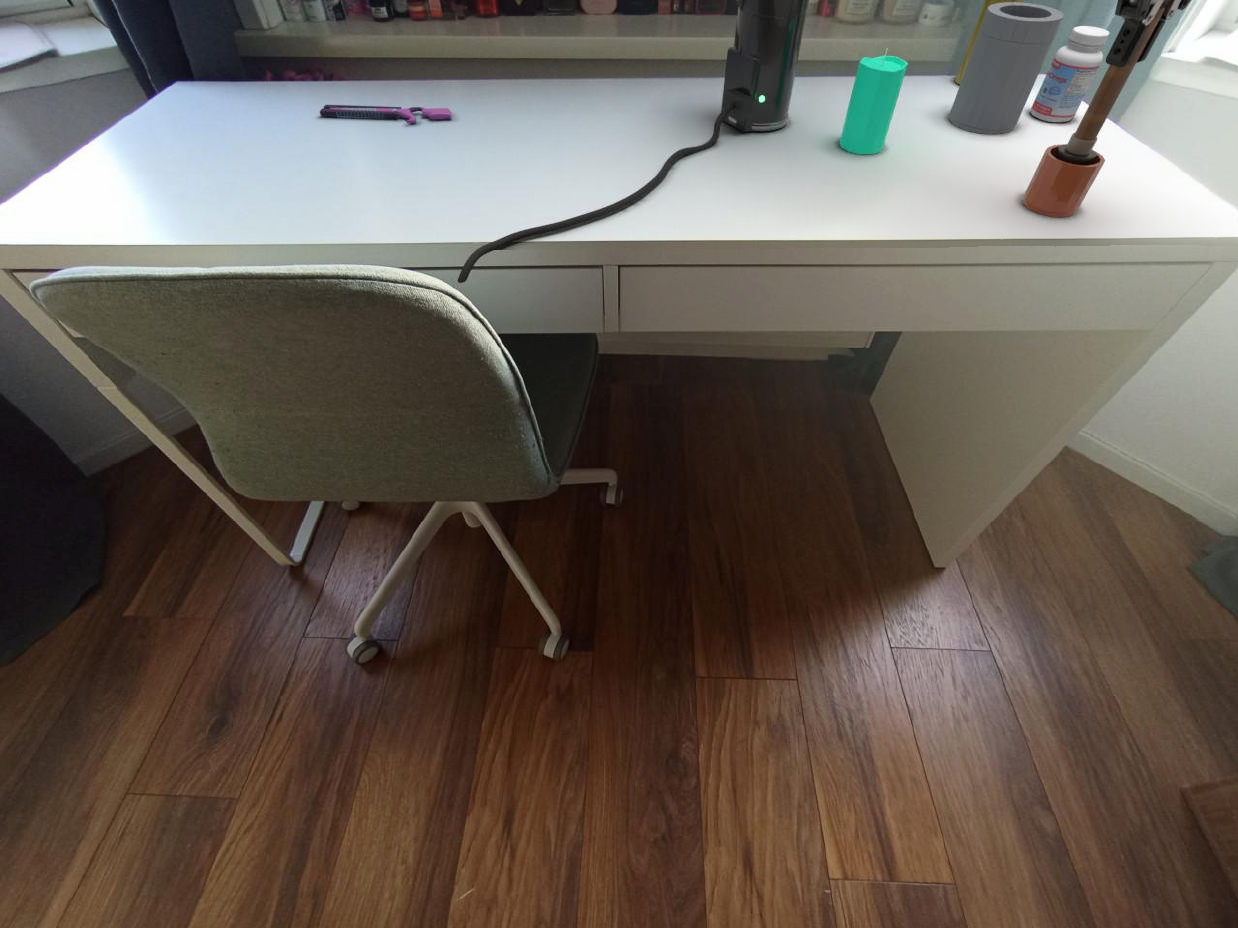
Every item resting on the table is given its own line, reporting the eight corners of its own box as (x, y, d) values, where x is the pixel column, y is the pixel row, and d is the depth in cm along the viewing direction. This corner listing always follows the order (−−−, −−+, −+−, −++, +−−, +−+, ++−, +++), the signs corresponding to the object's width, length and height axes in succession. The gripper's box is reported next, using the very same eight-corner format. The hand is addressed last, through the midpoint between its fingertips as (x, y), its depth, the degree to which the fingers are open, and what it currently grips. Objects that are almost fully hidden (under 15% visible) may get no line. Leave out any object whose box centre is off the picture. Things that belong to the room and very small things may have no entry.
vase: (995, 90, 105) (1038, -16, 94) (956, 88, 106) (994, -18, 95) (989, 78, 109) (1029, -25, 98) (951, 75, 110) (987, -27, 99)
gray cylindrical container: (986, 139, 92) (1033, 25, 81) (935, 117, 97) (973, 8, 87) (1028, 126, 95) (1078, 14, 84) (976, 106, 100) (1017, -1, 90)
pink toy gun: (455, 106, 98) (447, 120, 95) (456, 112, 98) (448, 127, 95) (326, 101, 99) (314, 115, 96) (328, 108, 100) (316, 122, 97)
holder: (1056, 222, 76) (1083, 171, 71) (1011, 201, 79) (1034, 151, 75) (1087, 209, 78) (1116, 159, 73) (1042, 189, 81) (1067, 140, 77)
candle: (884, 140, 92) (912, 44, 83) (881, 157, 88) (910, 58, 79) (841, 135, 93) (865, 39, 84) (837, 151, 89) (861, 53, 80)
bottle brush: (1055, 212, 76) (1162, 13, 61) (1026, 198, 78) (1122, 4, 64) (1076, 203, 78) (1185, 7, 63) (1046, 191, 80) (1145, -2, 65)
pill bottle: (1021, 109, 99) (1058, 25, 91) (1058, 108, 100) (1099, 23, 91) (1042, 124, 95) (1082, 37, 87) (1080, 123, 96) (1125, 36, 87)
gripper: (1240, -175, 58) (1127, 43, 71) (1153, -168, 54) (1049, 64, 67) (1334, -169, 54) (1196, 62, 67) (1249, -162, 49) (1118, 85, 62)
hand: (1123, 62), depth 67 cm, fingers closed on bottle brush, 2 cm apart
